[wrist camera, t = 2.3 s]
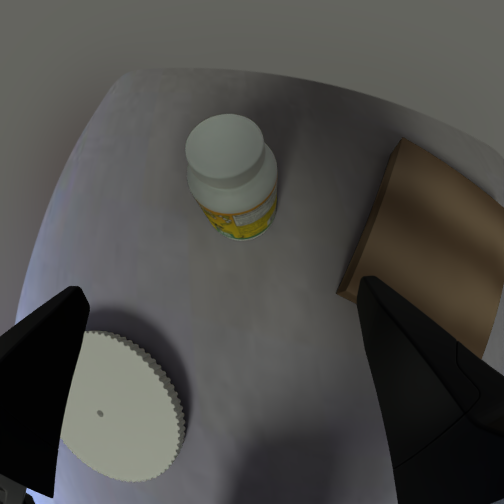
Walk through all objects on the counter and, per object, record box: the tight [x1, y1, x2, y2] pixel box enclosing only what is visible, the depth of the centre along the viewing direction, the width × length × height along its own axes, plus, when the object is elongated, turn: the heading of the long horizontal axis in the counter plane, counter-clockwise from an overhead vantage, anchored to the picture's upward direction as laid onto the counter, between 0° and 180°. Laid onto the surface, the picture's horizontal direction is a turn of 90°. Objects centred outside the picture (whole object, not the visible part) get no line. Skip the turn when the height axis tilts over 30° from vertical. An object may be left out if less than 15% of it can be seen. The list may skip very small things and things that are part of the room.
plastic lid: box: [60, 331, 185, 482], centre depth 19 cm, size 14×14×2 cm
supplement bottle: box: [185, 114, 278, 241], centre depth 18 cm, size 5×5×10 cm
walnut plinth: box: [336, 137, 504, 359], centre depth 19 cm, size 14×14×3 cm
